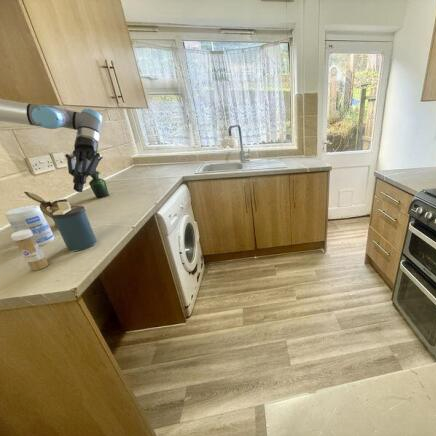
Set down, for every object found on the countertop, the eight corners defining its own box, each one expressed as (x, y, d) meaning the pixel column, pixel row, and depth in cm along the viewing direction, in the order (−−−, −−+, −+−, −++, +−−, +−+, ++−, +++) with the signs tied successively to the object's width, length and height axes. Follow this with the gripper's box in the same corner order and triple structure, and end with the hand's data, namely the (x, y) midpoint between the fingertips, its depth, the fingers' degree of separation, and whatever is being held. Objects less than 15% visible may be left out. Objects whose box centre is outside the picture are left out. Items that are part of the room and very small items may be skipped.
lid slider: (61, 210, 89) (58, 202, 87) (71, 209, 89) (68, 201, 88) (53, 215, 85) (49, 206, 83) (63, 214, 85) (59, 205, 84)
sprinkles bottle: (28, 272, 80) (7, 236, 75) (35, 265, 84) (15, 230, 79) (46, 268, 82) (26, 233, 76) (51, 261, 86) (33, 227, 80)
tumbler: (77, 241, 99) (61, 206, 93) (102, 239, 101) (89, 204, 95) (61, 254, 91) (43, 216, 84) (89, 251, 92) (74, 213, 86)
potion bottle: (94, 197, 154) (83, 168, 146) (109, 193, 159) (99, 166, 151) (95, 200, 148) (83, 170, 141) (111, 196, 153) (100, 168, 145)
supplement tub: (45, 246, 96) (26, 212, 89) (17, 250, 94) (-4, 216, 88) (60, 235, 104) (44, 203, 98) (35, 238, 102) (17, 206, 96)
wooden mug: (45, 225, 115) (26, 189, 108) (81, 217, 122) (65, 183, 115) (41, 232, 108) (21, 194, 101) (79, 223, 115) (63, 187, 108)
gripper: (109, 146, 109) (101, 193, 100) (76, 148, 107) (66, 196, 98) (98, 135, 102) (89, 184, 93) (63, 136, 100) (51, 186, 91)
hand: (77, 190), depth 96 cm, fingers closed
